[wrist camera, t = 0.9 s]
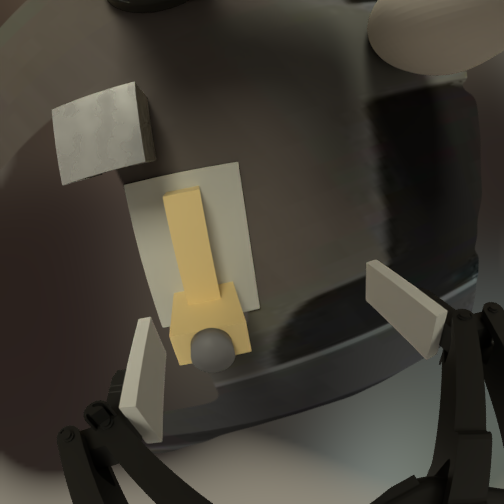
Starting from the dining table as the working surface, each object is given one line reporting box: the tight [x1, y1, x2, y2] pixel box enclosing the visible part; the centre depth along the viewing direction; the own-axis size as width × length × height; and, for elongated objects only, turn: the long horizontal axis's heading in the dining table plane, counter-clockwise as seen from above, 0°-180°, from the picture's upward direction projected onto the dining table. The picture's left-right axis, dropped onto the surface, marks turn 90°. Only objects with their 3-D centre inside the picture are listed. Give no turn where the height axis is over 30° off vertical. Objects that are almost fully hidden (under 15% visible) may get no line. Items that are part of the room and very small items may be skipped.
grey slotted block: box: [52, 82, 157, 185], centre depth 26 cm, size 8×9×8 cm
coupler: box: [163, 186, 251, 373], centre depth 30 cm, size 17×8×12 cm, turn 8°
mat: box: [124, 162, 260, 328], centre depth 36 cm, size 20×14×1 cm
